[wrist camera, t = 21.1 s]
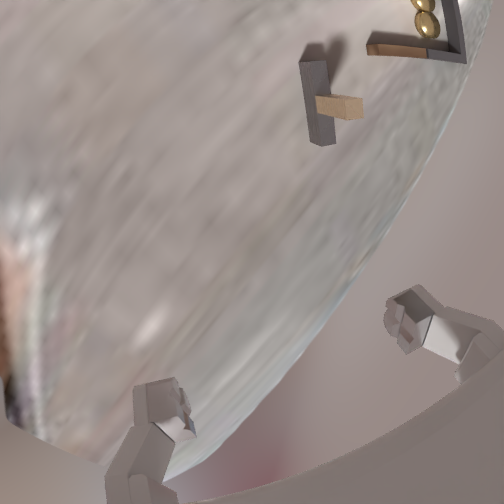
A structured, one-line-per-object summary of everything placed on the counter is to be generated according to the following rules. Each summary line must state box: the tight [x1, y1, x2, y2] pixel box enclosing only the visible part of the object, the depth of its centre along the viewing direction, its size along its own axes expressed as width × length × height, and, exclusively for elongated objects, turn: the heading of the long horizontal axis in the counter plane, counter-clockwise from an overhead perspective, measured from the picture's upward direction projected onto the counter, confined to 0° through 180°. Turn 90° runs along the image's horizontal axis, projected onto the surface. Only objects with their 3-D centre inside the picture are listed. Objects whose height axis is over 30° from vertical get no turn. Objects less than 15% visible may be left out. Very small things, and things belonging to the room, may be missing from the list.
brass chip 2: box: [415, 12, 440, 38], centre depth 29 cm, size 4×4×2 cm
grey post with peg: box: [299, 60, 364, 147], centre depth 29 cm, size 10×2×9 cm, turn 10°
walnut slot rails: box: [366, 44, 427, 58], centre depth 26 cm, size 15×9×2 cm, turn 10°
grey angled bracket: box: [424, 0, 467, 64], centre depth 27 cm, size 15×10×2 cm, turn 10°
